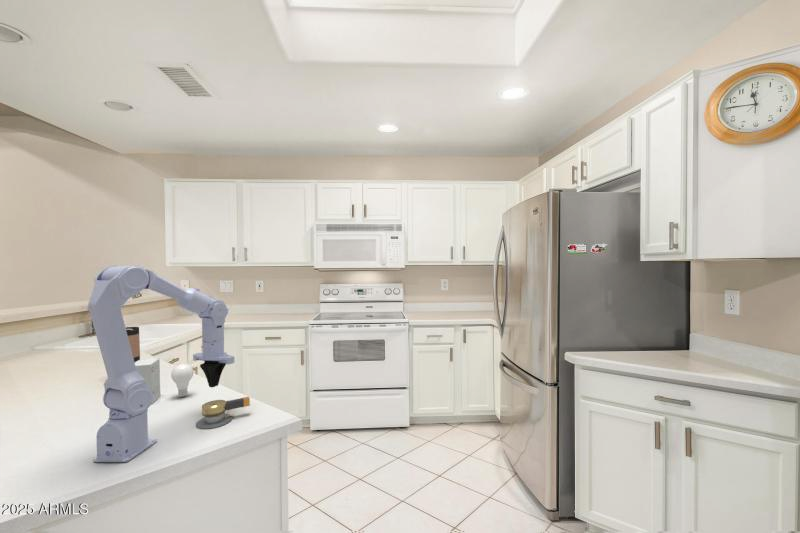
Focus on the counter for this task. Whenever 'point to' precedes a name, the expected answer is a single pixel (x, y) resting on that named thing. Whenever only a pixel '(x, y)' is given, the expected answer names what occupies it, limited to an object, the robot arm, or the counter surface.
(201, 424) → the post base
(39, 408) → the counter surface
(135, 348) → the travel mug
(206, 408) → the collar
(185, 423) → the counter surface
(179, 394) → the lightbulb
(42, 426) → the counter surface
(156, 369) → the small box
